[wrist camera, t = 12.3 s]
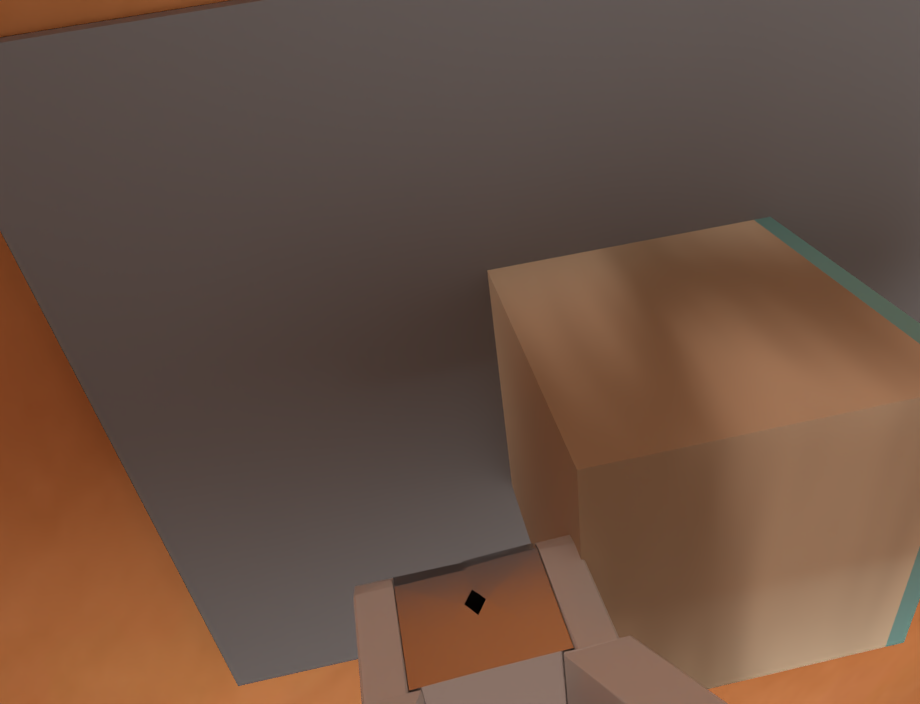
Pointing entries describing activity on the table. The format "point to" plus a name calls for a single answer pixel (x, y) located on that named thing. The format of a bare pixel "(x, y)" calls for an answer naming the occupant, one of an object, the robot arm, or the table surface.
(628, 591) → the maple cube
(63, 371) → the table surface
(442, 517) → the rubber mat
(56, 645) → the table surface
